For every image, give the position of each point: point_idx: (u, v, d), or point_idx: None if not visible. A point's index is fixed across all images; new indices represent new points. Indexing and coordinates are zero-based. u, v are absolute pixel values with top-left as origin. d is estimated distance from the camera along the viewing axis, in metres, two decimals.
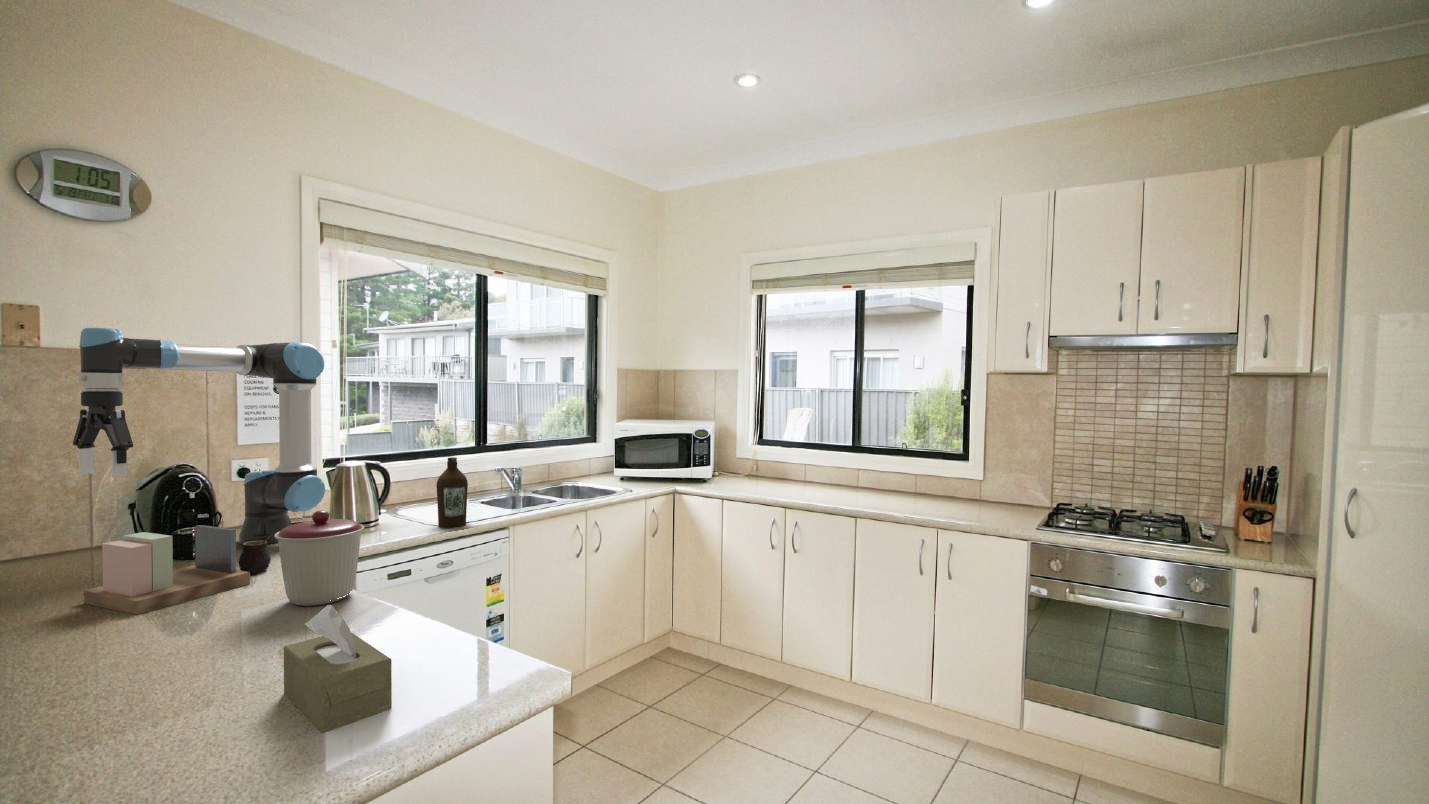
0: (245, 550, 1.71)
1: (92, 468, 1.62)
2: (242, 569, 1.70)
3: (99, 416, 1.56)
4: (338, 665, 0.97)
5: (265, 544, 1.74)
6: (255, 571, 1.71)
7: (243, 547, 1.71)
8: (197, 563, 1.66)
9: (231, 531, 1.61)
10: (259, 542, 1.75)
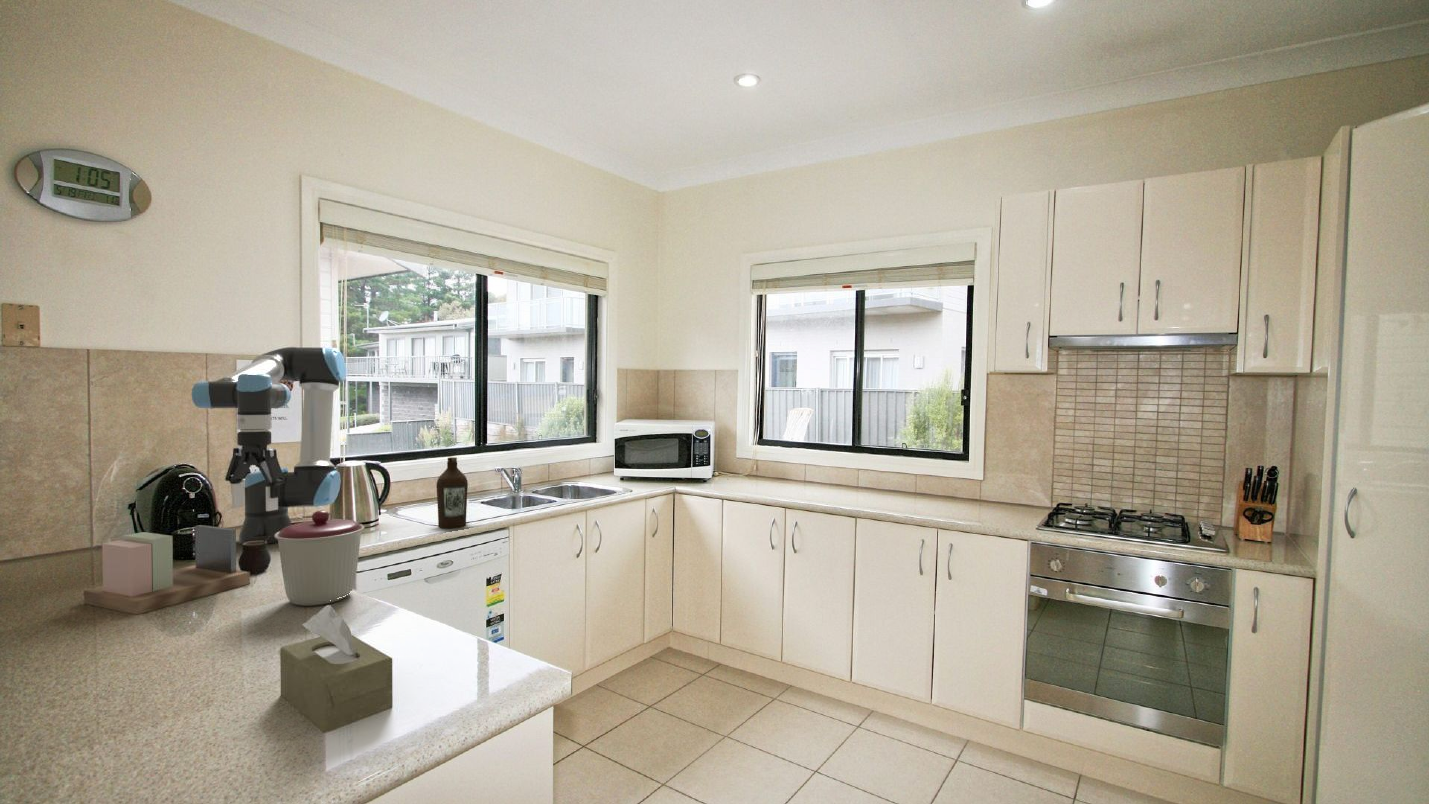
0: (245, 550, 1.71)
1: (242, 501, 1.76)
2: (242, 569, 1.70)
3: (253, 454, 1.71)
4: (339, 665, 0.97)
5: (265, 544, 1.74)
6: (255, 571, 1.71)
7: (243, 547, 1.71)
8: (197, 563, 1.66)
9: (231, 531, 1.61)
10: (259, 542, 1.75)
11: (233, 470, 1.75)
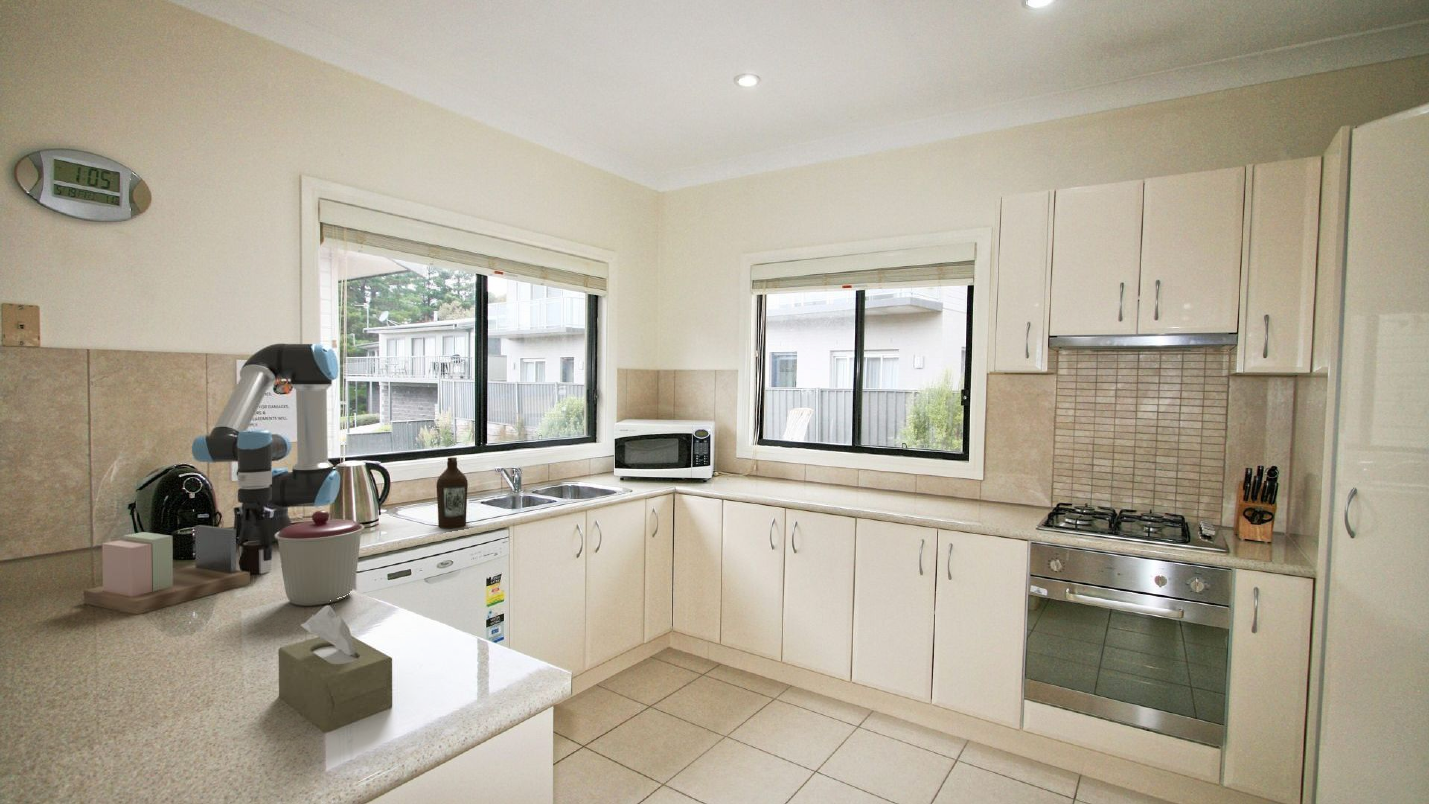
0: (245, 550, 1.71)
1: None
2: (242, 569, 1.70)
3: (254, 512, 1.71)
4: (339, 665, 0.97)
5: None
6: (255, 571, 1.71)
7: (243, 547, 1.71)
8: (197, 563, 1.66)
9: (231, 531, 1.61)
10: (259, 542, 1.75)
11: (238, 530, 1.75)
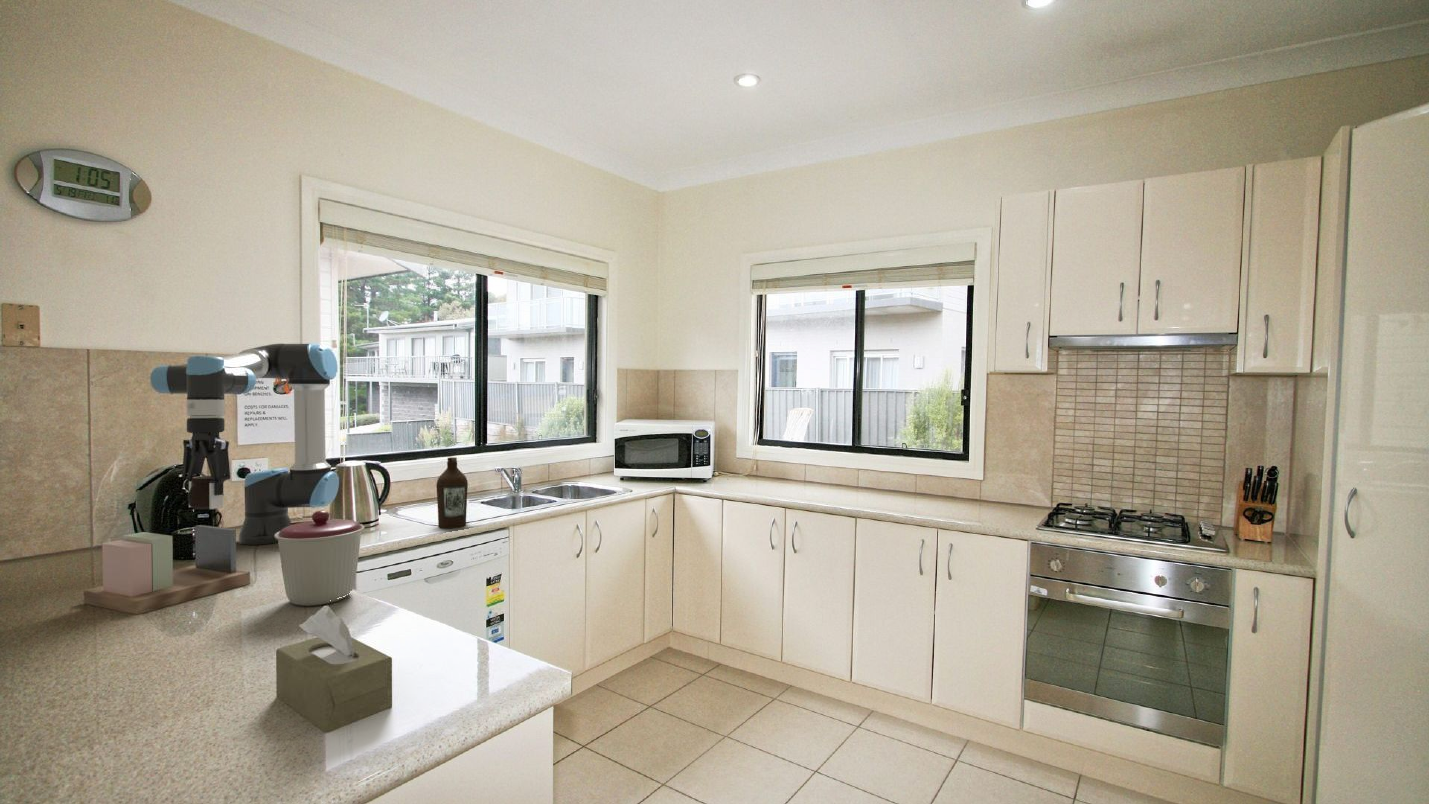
0: (195, 484, 1.59)
1: None
2: (191, 504, 1.58)
3: (204, 443, 1.59)
4: (338, 665, 0.97)
5: None
6: (206, 506, 1.59)
7: (193, 481, 1.59)
8: (197, 563, 1.66)
9: (231, 531, 1.61)
10: None
11: (188, 464, 1.63)
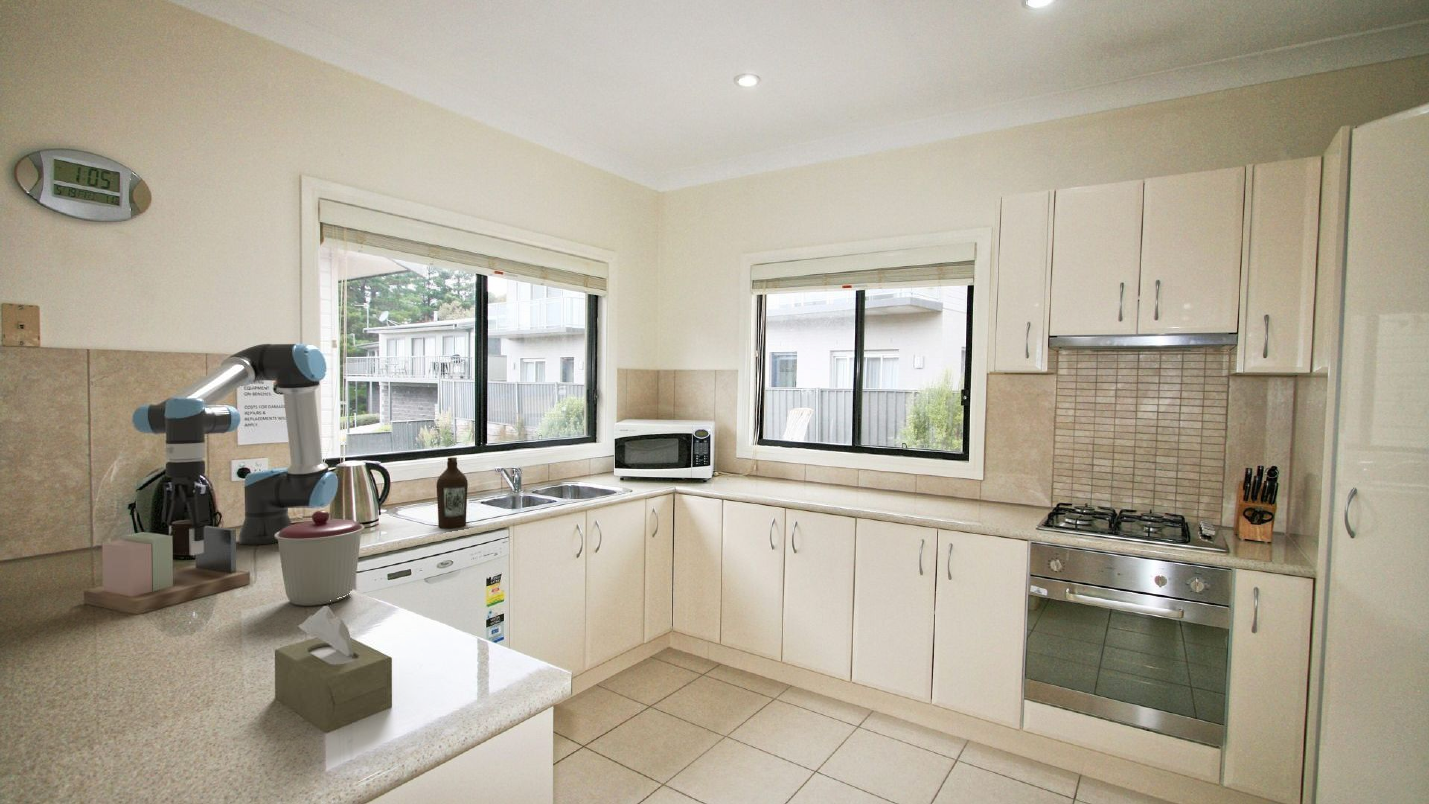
0: (174, 530, 1.55)
1: None
2: None
3: (184, 488, 1.55)
4: (338, 665, 0.97)
5: None
6: (185, 552, 1.55)
7: (172, 526, 1.55)
8: (197, 563, 1.66)
9: (231, 531, 1.61)
10: None
11: (168, 508, 1.59)
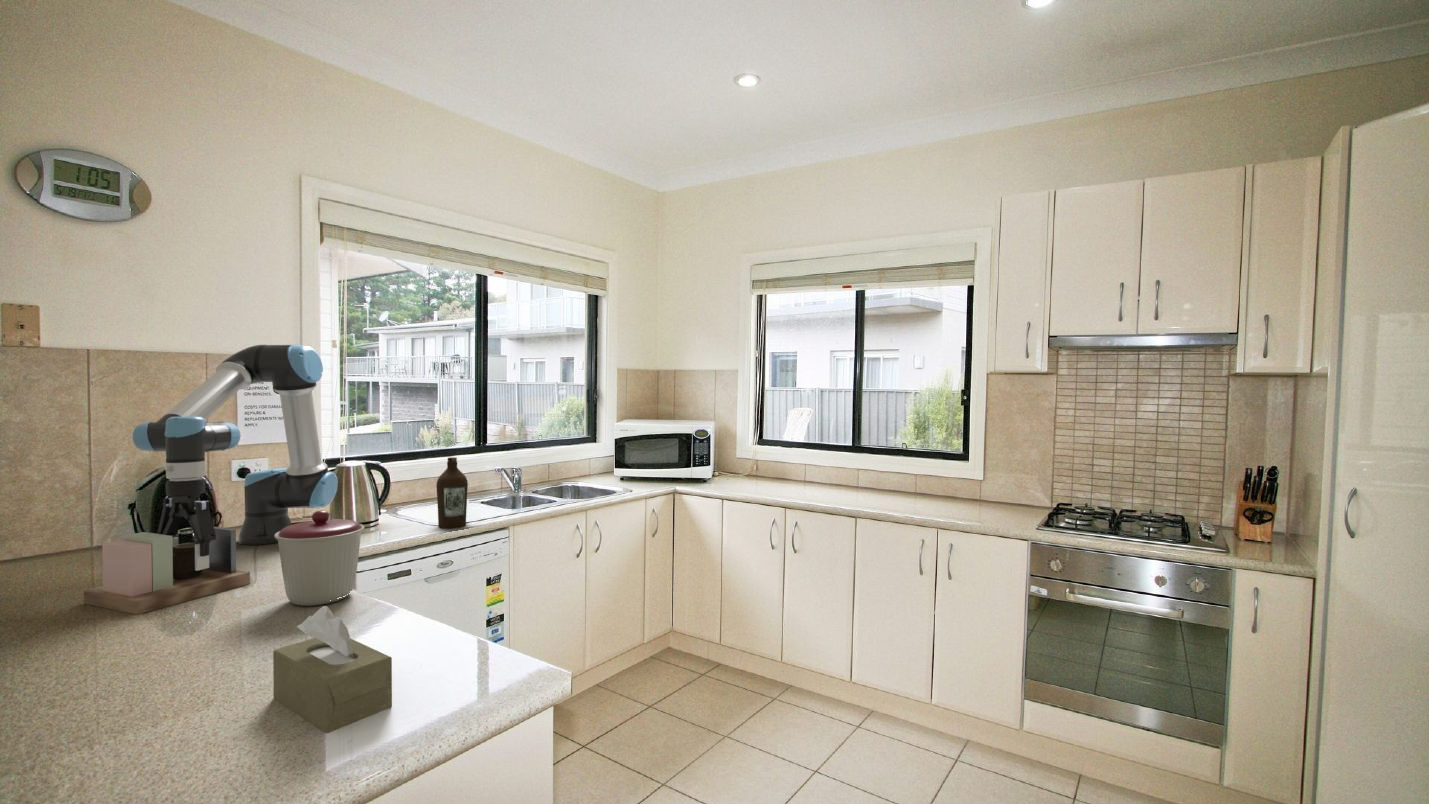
0: (175, 554, 1.55)
1: None
2: None
3: (184, 506, 1.55)
4: (338, 665, 0.96)
5: None
6: (186, 576, 1.56)
7: (173, 550, 1.55)
8: None
9: (231, 531, 1.61)
10: (192, 544, 1.60)
11: (165, 523, 1.60)
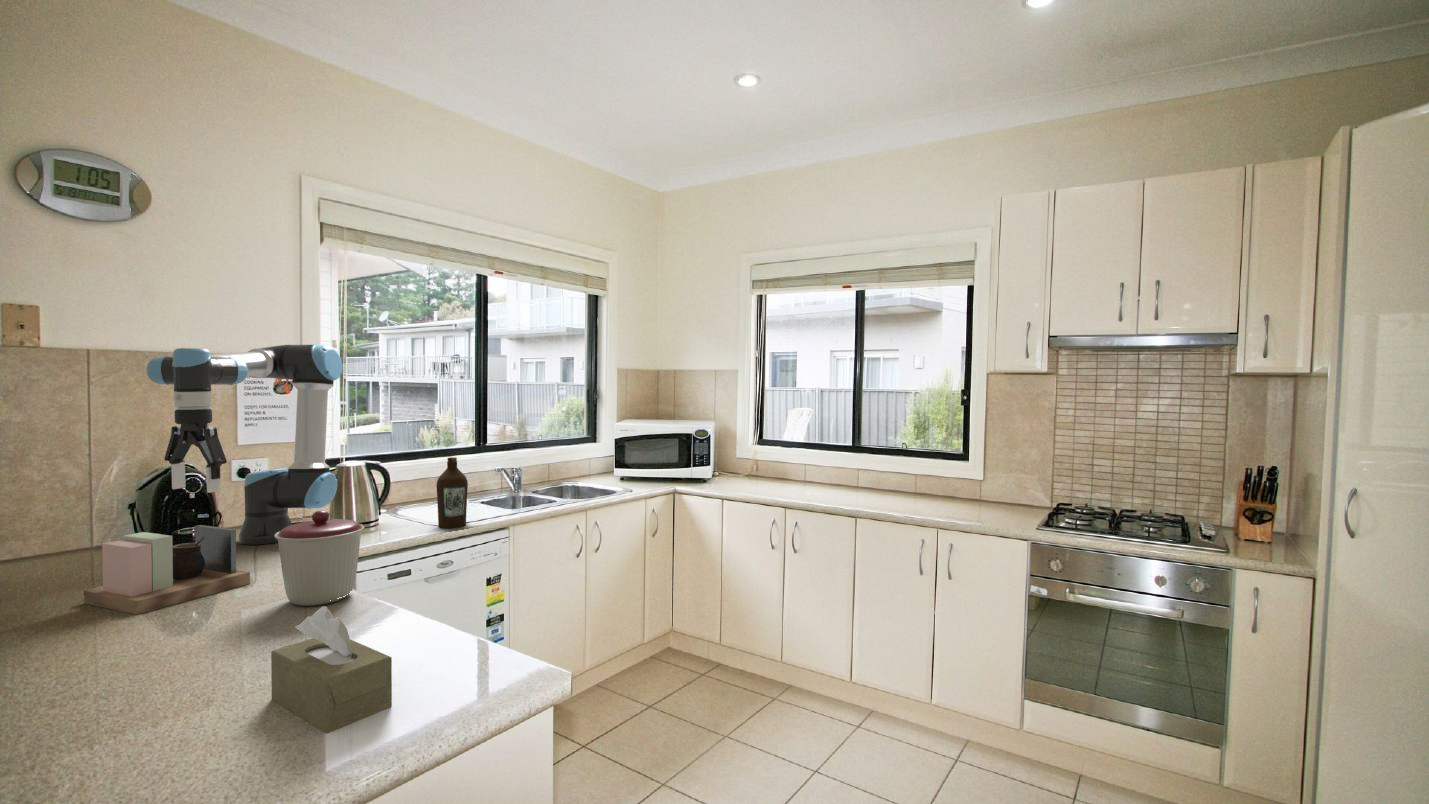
0: (175, 554, 1.55)
1: (183, 482, 1.68)
2: None
3: (192, 433, 1.62)
4: (338, 666, 0.96)
5: (198, 547, 1.58)
6: (186, 576, 1.56)
7: (173, 550, 1.55)
8: None
9: (231, 531, 1.61)
10: (192, 544, 1.60)
11: (172, 450, 1.66)
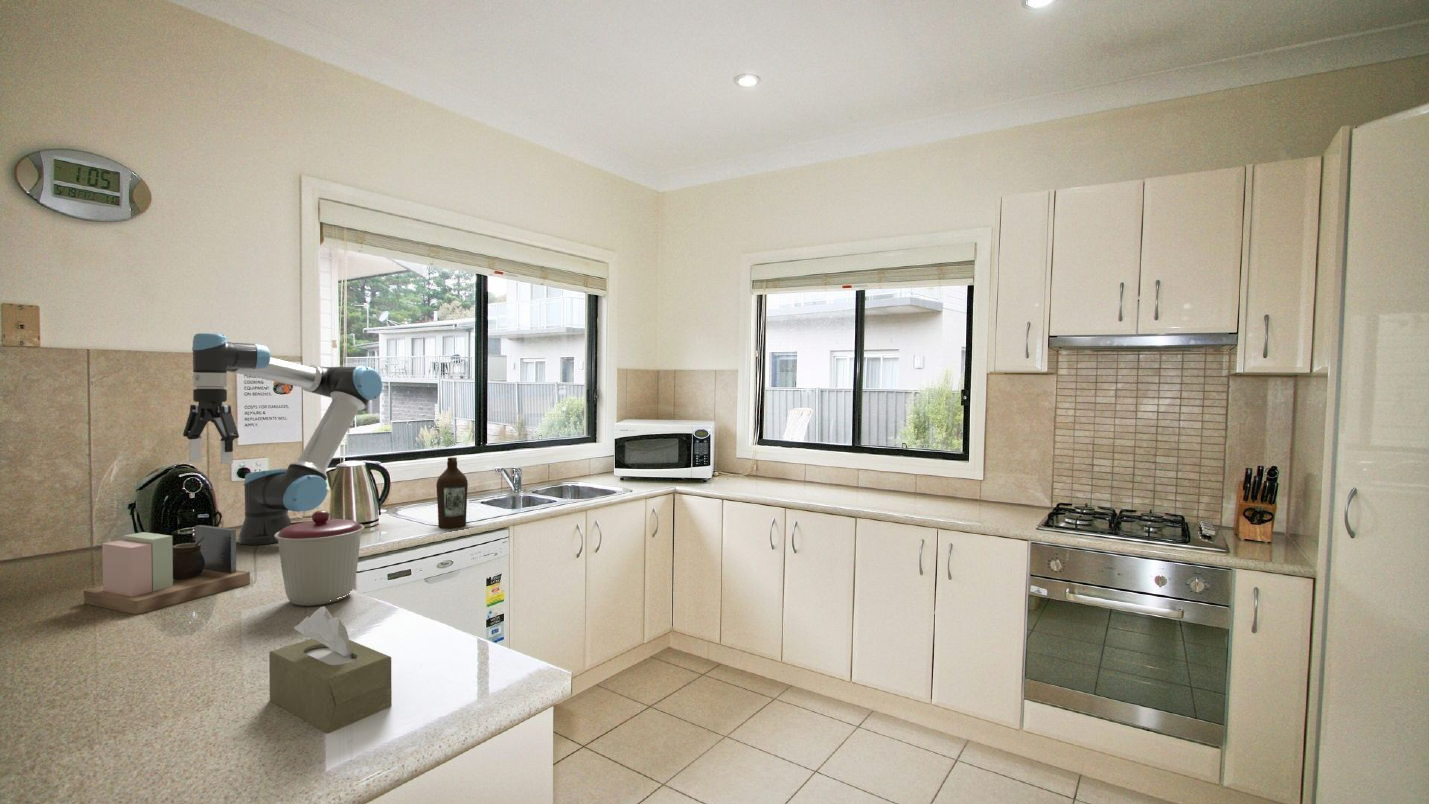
0: (175, 554, 1.55)
1: (199, 456, 1.84)
2: None
3: (209, 410, 1.79)
4: (338, 666, 0.96)
5: (198, 547, 1.58)
6: (186, 576, 1.56)
7: (173, 550, 1.55)
8: None
9: (231, 531, 1.61)
10: (192, 544, 1.60)
11: (190, 426, 1.83)
